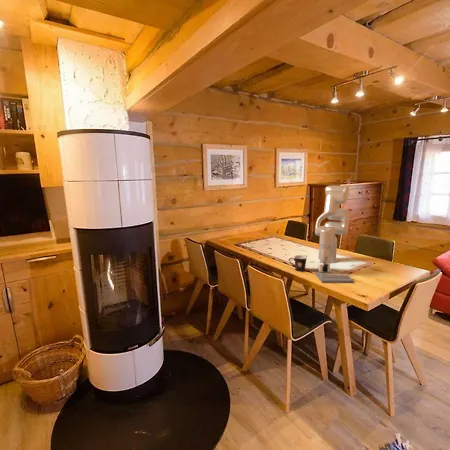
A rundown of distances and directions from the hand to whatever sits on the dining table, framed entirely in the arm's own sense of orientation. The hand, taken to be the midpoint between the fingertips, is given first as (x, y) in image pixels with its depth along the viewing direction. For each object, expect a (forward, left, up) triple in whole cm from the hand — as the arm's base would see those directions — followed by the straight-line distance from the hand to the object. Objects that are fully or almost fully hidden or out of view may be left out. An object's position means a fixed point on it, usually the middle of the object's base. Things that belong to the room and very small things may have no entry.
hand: (323, 269), depth 196 cm
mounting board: (+15, +3, -1) cm, 15 cm away
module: (0, 0, -1) cm, 1 cm away
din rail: (+15, +3, 0) cm, 15 cm away
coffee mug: (-3, -17, -1) cm, 18 cm away
